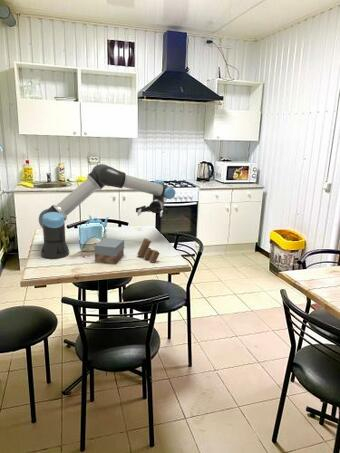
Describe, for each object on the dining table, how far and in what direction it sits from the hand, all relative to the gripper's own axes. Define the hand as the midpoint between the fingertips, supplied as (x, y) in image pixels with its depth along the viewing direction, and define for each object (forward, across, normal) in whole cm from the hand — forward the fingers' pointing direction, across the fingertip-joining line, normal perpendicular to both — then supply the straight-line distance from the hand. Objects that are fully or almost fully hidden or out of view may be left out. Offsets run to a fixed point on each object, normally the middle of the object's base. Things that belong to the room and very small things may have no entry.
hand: (149, 214), depth 204 cm
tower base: (+21, +18, -22) cm, 36 cm away
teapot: (-27, +42, -22) cm, 55 cm away
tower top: (+20, +18, -18) cm, 33 cm away
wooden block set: (+14, -2, -23) cm, 27 cm away
